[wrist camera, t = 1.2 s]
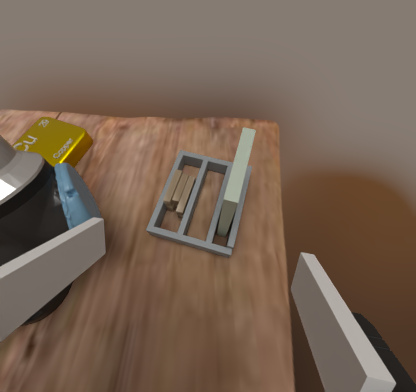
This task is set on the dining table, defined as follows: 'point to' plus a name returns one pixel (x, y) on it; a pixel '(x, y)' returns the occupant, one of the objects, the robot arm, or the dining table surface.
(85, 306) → the dining table surface
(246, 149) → the sage hardboard sheet
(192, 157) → the offcut rack
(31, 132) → the element tile
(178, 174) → the pine offcut stack
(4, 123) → the dining table surface
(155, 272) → the dining table surface
